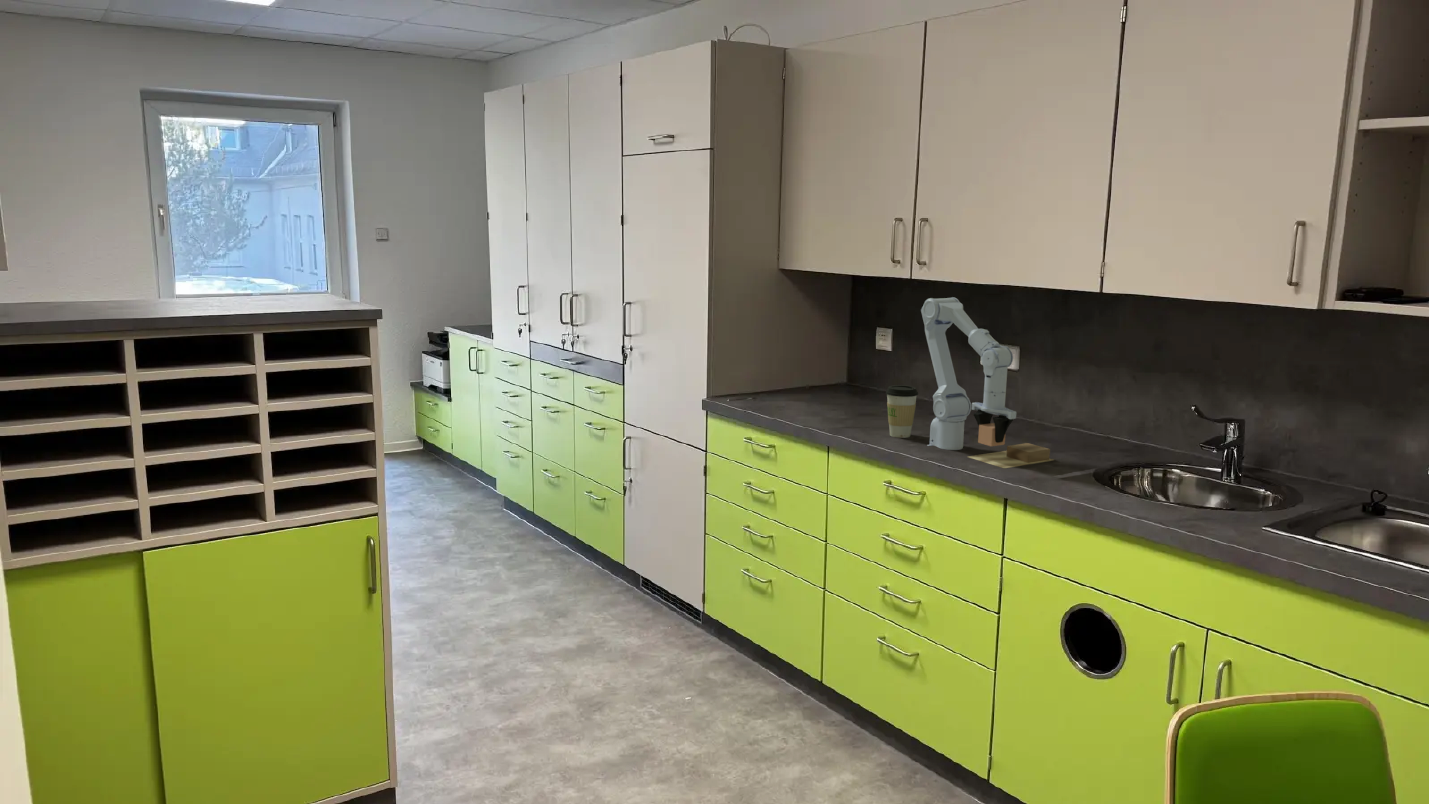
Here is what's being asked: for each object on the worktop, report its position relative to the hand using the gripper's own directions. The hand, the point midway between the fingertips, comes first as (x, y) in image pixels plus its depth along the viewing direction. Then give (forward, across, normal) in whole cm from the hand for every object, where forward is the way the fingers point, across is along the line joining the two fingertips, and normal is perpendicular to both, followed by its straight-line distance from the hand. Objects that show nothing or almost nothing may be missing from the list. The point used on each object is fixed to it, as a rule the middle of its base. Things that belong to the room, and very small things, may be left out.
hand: (991, 439), depth 261 cm
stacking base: (+6, +2, +6) cm, 9 cm away
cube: (+1, 0, 0) cm, 1 cm away
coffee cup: (+7, -37, -1) cm, 37 cm away
